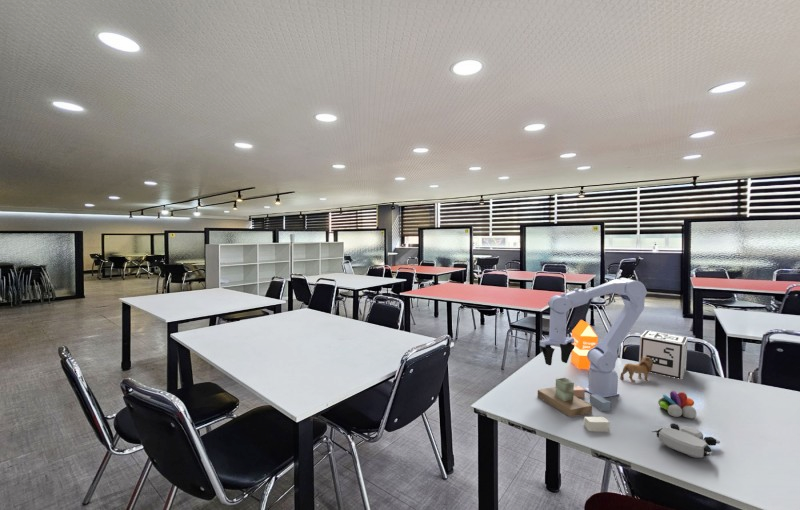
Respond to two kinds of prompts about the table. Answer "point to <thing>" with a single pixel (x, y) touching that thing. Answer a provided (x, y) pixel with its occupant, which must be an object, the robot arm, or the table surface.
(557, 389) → the sage block
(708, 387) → the table surface
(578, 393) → the terracotta brick
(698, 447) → the robot toy
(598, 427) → the cream brick
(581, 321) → the orange juice
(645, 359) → the lion figurine
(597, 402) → the slate brick
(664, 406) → the colorful egg cluster
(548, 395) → the walnut slab
